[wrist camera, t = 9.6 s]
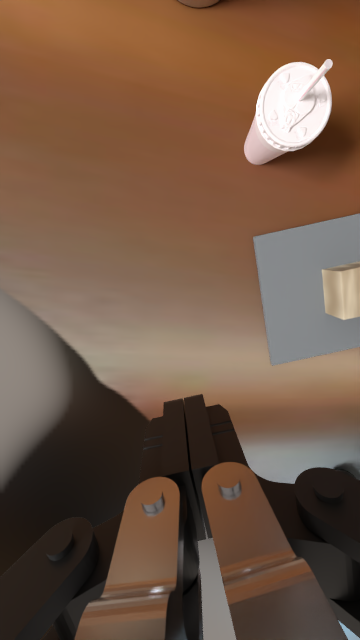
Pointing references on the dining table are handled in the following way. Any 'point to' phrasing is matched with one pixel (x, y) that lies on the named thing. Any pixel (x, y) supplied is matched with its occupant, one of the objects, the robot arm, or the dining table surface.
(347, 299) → the birch block
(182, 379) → the dining table surface
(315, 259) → the mat
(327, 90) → the smoothie
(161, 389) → the dining table surface
